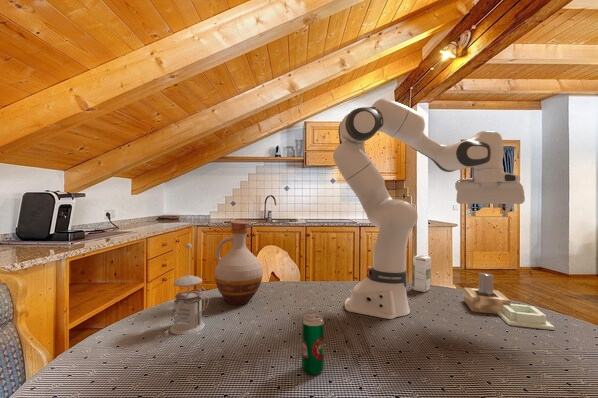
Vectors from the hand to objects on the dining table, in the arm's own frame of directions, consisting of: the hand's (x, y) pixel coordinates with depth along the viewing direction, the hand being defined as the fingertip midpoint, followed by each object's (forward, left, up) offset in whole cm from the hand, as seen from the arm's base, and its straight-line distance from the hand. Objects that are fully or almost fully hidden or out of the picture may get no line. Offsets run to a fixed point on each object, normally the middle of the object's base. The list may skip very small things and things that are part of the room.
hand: (488, 216), depth 104 cm
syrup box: (-20, +18, -33) cm, 43 cm away
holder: (+8, -6, -33) cm, 35 cm away
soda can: (-51, -54, -33) cm, 81 cm away
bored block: (0, +3, -33) cm, 33 cm away
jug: (-89, -19, -33) cm, 97 cm away
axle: (0, +3, -33) cm, 33 cm away
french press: (-91, -44, -33) cm, 106 cm away
